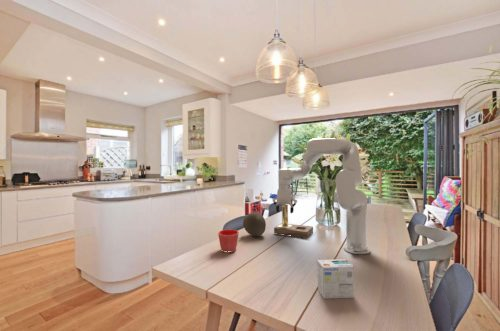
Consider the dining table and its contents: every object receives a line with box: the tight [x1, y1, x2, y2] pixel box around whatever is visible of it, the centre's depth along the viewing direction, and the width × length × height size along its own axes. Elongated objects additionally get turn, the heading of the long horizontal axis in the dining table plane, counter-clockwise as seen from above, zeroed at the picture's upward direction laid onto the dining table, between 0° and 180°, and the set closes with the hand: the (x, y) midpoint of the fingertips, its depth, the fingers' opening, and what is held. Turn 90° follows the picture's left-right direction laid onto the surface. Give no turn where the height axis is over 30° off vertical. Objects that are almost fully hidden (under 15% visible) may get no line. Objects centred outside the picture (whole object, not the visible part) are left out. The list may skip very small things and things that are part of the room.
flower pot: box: [217, 229, 240, 252], centre depth 125 cm, size 11×11×10 cm
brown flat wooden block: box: [273, 222, 314, 239], centre depth 154 cm, size 14×22×4 cm, turn 61°
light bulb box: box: [316, 258, 355, 299], centre depth 81 cm, size 11×7×11 cm, turn 92°
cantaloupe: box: [242, 212, 267, 237], centre depth 149 cm, size 14×14×15 cm
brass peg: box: [281, 204, 289, 227], centre depth 157 cm, size 4×4×14 cm
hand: (284, 212), depth 157 cm, fingers open, 9 cm apart
